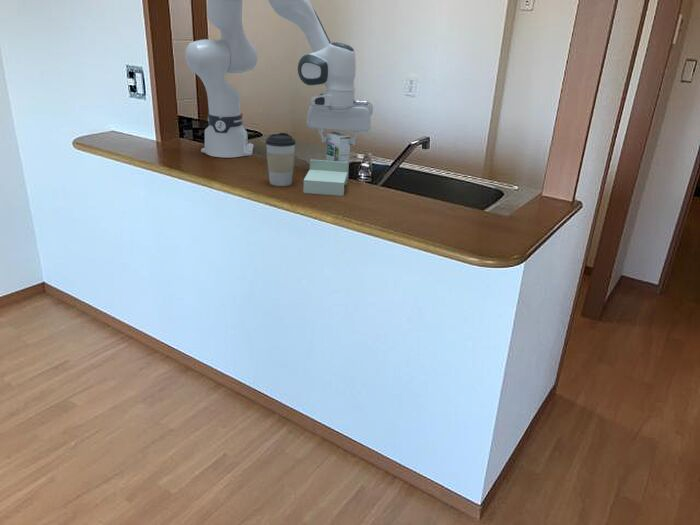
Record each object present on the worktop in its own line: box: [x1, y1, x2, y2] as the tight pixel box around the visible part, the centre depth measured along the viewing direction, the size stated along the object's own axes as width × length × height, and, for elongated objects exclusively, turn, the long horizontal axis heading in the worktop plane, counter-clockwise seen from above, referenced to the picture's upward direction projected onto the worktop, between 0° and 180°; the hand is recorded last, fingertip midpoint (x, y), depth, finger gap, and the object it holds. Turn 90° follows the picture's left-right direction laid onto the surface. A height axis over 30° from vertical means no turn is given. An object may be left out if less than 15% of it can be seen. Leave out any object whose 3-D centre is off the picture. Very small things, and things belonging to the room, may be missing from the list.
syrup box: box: [325, 131, 351, 179], centre depth 179 cm, size 6×6×14 cm
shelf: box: [302, 159, 349, 197], centre depth 169 cm, size 13×12×7 cm
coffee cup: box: [265, 132, 296, 187], centre depth 170 cm, size 9×9×15 cm
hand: (338, 143), depth 177 cm, fingers closed on syrup box, 8 cm apart
